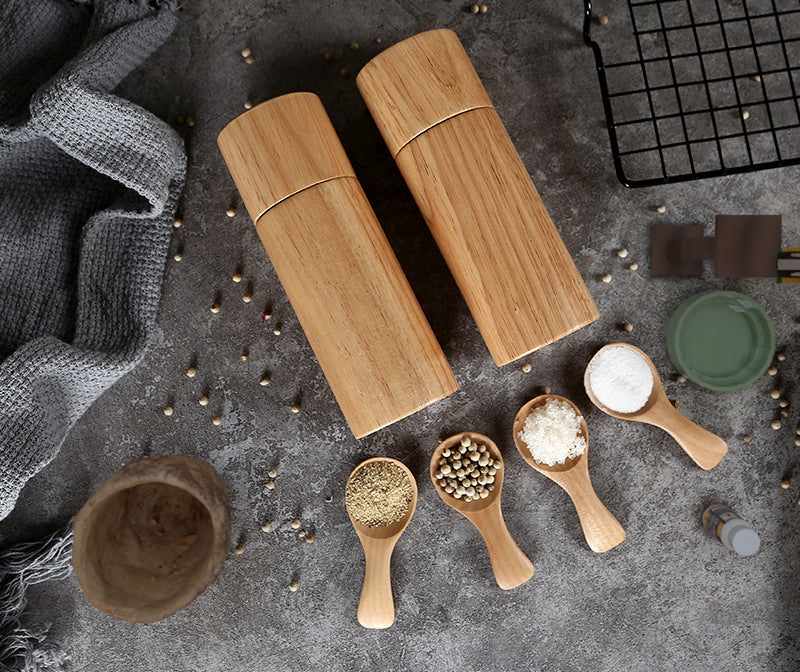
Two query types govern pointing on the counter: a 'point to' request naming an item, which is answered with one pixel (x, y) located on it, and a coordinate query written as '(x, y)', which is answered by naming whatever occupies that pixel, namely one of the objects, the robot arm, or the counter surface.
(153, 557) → the brown pot
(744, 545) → the pill bottle
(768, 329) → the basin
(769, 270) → the stand
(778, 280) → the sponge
